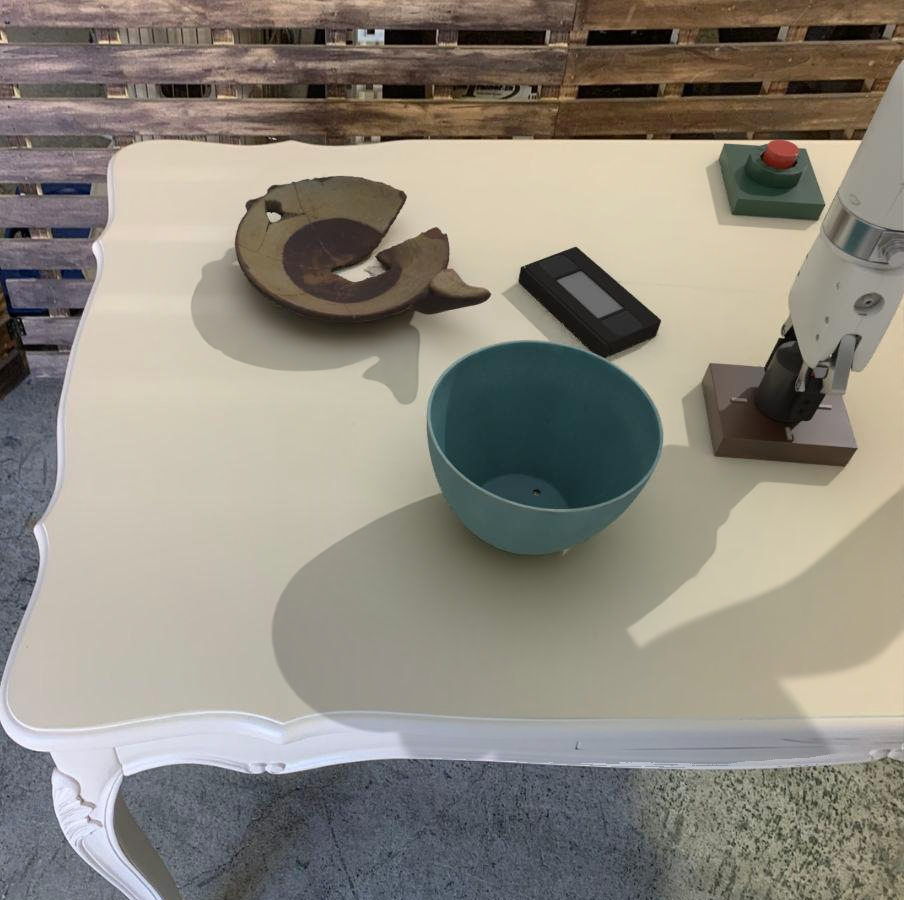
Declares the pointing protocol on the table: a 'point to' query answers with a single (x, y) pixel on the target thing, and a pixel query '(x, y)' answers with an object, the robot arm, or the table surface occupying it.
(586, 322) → the vhs tape
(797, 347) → the knob
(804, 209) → the button box
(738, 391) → the panel
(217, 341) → the table surface
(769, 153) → the button
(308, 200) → the broken bowl
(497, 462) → the plant pot
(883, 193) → the robot arm
